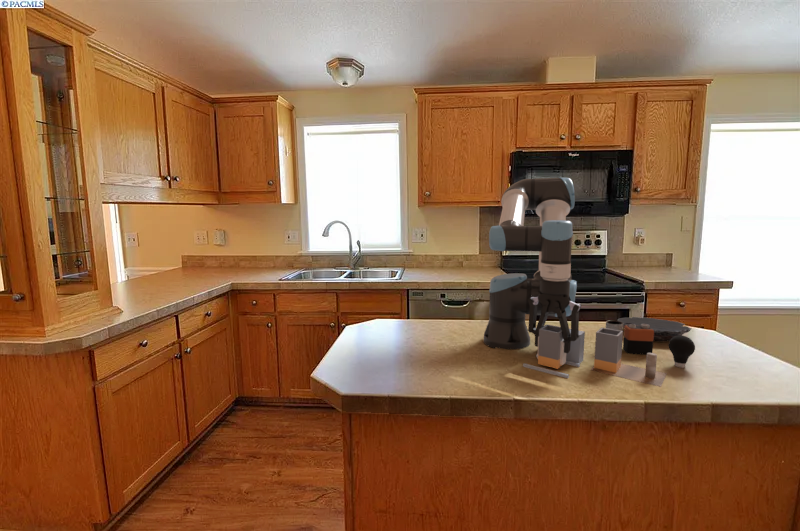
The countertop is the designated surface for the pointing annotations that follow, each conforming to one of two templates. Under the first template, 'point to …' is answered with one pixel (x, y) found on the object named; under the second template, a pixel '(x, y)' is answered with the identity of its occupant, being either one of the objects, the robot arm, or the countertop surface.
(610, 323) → the planter
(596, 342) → the seated sleeve
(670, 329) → the board
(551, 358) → the sleeve
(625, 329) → the battery
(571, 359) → the feeder
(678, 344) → the light bulb
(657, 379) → the pinboard
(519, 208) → the robot arm
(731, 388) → the countertop surface
